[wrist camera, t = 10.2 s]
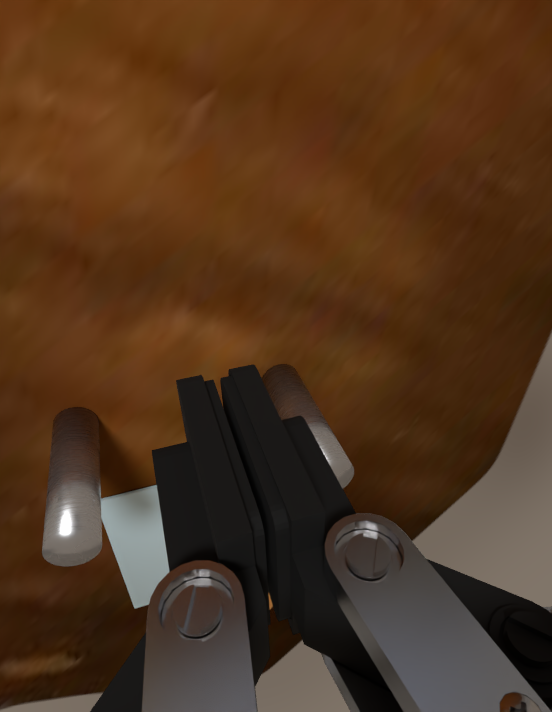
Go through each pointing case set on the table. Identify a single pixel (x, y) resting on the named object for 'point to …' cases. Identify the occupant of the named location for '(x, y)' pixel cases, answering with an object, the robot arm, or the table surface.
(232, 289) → the table surface
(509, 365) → the table surface
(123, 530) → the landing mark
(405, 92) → the table surface
